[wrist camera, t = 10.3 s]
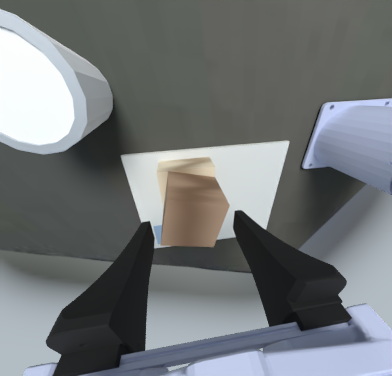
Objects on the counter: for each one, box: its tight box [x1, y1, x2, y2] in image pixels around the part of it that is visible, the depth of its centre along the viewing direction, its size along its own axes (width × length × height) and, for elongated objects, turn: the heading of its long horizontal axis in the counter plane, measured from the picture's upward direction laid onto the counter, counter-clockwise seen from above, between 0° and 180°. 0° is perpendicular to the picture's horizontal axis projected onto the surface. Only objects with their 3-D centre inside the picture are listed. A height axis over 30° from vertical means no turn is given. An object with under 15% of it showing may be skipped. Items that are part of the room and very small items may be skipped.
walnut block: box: [161, 171, 230, 247], centre depth 15 cm, size 5×5×5 cm
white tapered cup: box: [0, 9, 113, 154], centre depth 11 cm, size 7×7×7 cm
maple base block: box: [156, 157, 215, 208], centre depth 19 cm, size 6×6×3 cm
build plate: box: [121, 141, 289, 248], centre depth 22 cm, size 20×16×1 cm
